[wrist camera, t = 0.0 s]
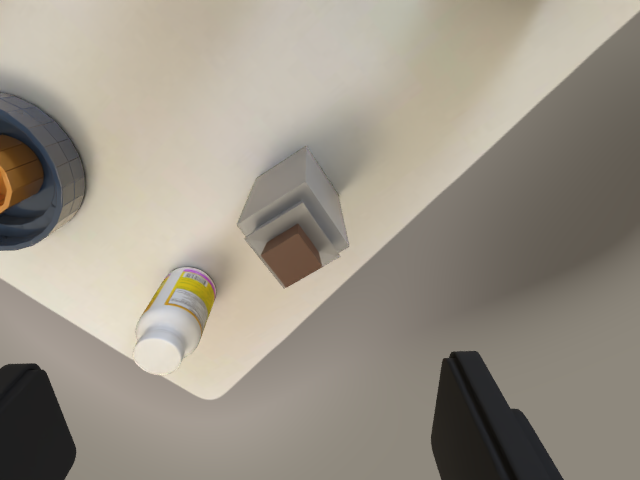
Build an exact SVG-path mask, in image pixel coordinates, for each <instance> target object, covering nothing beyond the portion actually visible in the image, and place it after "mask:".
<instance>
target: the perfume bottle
mask: <svg viewBox="0 0 640 480" xmlns="http://www.w3.org/2000/svg"><path fill="white" fill-rule="evenodd" d="M237 226H238V227H239V229H240V230H241V231H242V233H243V234H244V235H245V236H246V238H244V239H245V240H246V242H247V243H248V244H249V245H250V247H251V248H252V249H253V250H254V252H255V253H256V254H257V255H258V257H259V258H260V259H261V260H262V262H263V263H264V264H265V265H266V267H267V268H268V269H269V270H270V272H271V273H272V274H273V275H274V277H275V278H276V279H277V280H278V282H279V283H280V284H281V286H282V287H283V288H284V289H285V288H286V287H288V286H290V285H292V284H293V283H295V282H297V281H299V280H300V279H302V278H304V277H306V276H307V275H309V274H311V273H313V272H315V271H316V270H318V269H320V268H322V267H323V266H325V265H327V264H328V263H330V262H332V261H334V260H335V259H337V258H339V257H340V255H339V254H338V253H339V252H341V251H342V250H344V249H346V248H348V247H349V242H348V237H347V233H346V228H345V223H344V219H343V214H342V209H341V204H340V200H339V195H338V194H337V192H336V191H335V189H334V188H333V186H332V184H331V183H330V181H329V180H328V178H327V177H326V175H325V174H324V172H323V171H322V169H321V168H320V166H319V164H318V163H317V161H316V160H315V158H314V157H313V155H312V154H311V152H310V151H309V149H308V147H307V146H305V147H304V148H302V149H301V150H299V151H298V152H296V153H295V154H293V155H291V156H290V157H288V158H287V159H285V160H284V161H282V162H281V163H279V164H278V165H276V166H275V167H273V168H271V169H270V170H268V171H267V172H265V173H264V174H262V175H261V176H259V177H258V178H256V180H255V182H254V185H253V187H252V190H251V192H250V194H249V197H248V199H247V201H246V204H245V206H244V209H243V211H242V213H241V216H240V218H239V220H238V223H237Z"/></svg>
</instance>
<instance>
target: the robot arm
mask: <svg viewBox="0 0 640 480" xmlns="http://www.w3.org/2000/svg"><path fill="white" fill-rule="evenodd" d="M431 444H432V450H433V454H434V457H435V461H436V464H437V467H438V470H439V473H440V476H441V480H564V479H563V478H562V476H561V475H560V473H559V471H558V469H557V468H556V466H555V465H554V463H553V461H552V459H551V458H550V456H549V454H548V453H547V451H546V449H545V448H544V446H543V444H542V443H541V441H540V440H539V438H538V436H537V434H536V433H535V431H534V429H533V428H532V426H531V425H530V423H529V421H528V419H527V418H526V417H525V415H524V414H523V413H522V412H521V411H520V410H518V409H510V407H509V405H508V404H507V402H506V400H505V398H504V397H503V395H502V393H501V391H500V389H499V388H498V386H497V384H496V382H495V381H494V379H493V377H492V376H491V374H490V372H489V370H488V368H487V367H486V365H485V363H484V362H483V360H482V358H481V356H480V355H479V353H478V352H476V351H459V352H451V354H450V357H449V358H444V359H443V361H442V367H441V374H440V380H439V387H438V394H437V400H436V407H435V414H434V421H433V427H432V434H431ZM75 457H76V447H75V444H74V442H73V439H72V436H71V434H70V432H69V429H68V426H67V424H66V421H65V419H64V416H63V414H62V411H61V409H60V406H59V404H58V401H57V398H56V396H55V394H54V391H53V388H52V386H51V383H50V381H49V378H48V376H47V373H46V372H45V371H44V370H41V369H40V367H39V366H38V365H37V364H8V365H5V366H3V367H2V368H1V369H0V480H64V479H65V477H66V476H67V474H68V472H69V470H70V469H71V467H72V465H73V463H74V461H75Z"/></svg>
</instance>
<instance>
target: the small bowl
mask: <svg viewBox="0 0 640 480" xmlns="http://www.w3.org/2000/svg"><path fill="white" fill-rule="evenodd" d="M43 179H44V173H43V168H42V165H41V162H40V160H39V159H38V157H37V156H36V154H35V153H34V152H33V151H32V150H31V149H30V148H29V147H28V146H27V145H26V144H24V143H23V142H21V141H19V140H18V139H15V138H13V137H10V136H6V135H0V214H1V213H3V212H5V211H7V210H9V209H11V208H13V207H15V206H17V205H19V204H21V203H23V202H25V201H26V200H28V199H29V198H31V197H32V196H34V195H35V194H37V193H38V192H39V190H40V188H41V186H42V184H43Z"/></svg>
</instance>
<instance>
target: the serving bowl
mask: <svg viewBox="0 0 640 480" xmlns="http://www.w3.org/2000/svg"><path fill="white" fill-rule="evenodd" d="M0 135H6V136H10V137H13V138H15V139H18V140H19V141H21V142H23V143H24V144H26V145H27V146H28V147H29V148H30V149H31V150H32V151H33V152H34V153H35V154H36V156H37V157H38V159H39V160H40V162H41V165H42V168H43V173H44V179H43V184H42V186H41V188H40V190H39V192H38V193H37V194H35V195H34V196H32V197H31V198H29V199H28V200H26V201H25V202H23V203H21V204H19V205H17V206H15V207H13V208H11V209H9V210H7V211H5V212H3V213H1V214H0V251H4V250H19V249H22V248H26V247H29V246H33V245H35V244H36V243H38V242H39V241H41V240H43V239H44V238H46V237H47V236H49V235H50V234H51V233H53V232H54V231H56V230H57V229H59V228H60V227H61V226H63V225H64V224H66V223H67V222H69V221H70V220H71V219H72V217H73V216H74V215H75V214H76V212H77V211H78V210H79V208H80V205H81V202H82V199H83V196H84V192H85V176H84V175H85V174H84V171H83V167H82V163H81V159H80V157H79V154H78V153H77V151H76V149H75V147H74V145H73V143H72V142H71V140H70V139H69V137H68V136H67V135H66V133H65V132H64V131H63V130H62V129H61V128H60V126H59V125H58V124H57V123H56V122H55V121H54V120H53V119H52V118H50V117H49V116H48V115H47V114H45V113H44V112H43V111H41V110H40V109H39V108H38V107H36V106H34V105H32V104H30V103H28V102H26V101H24V100H22V99H20V98H18V97H16V96H13V95H9V94H4V93H0Z"/></svg>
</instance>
